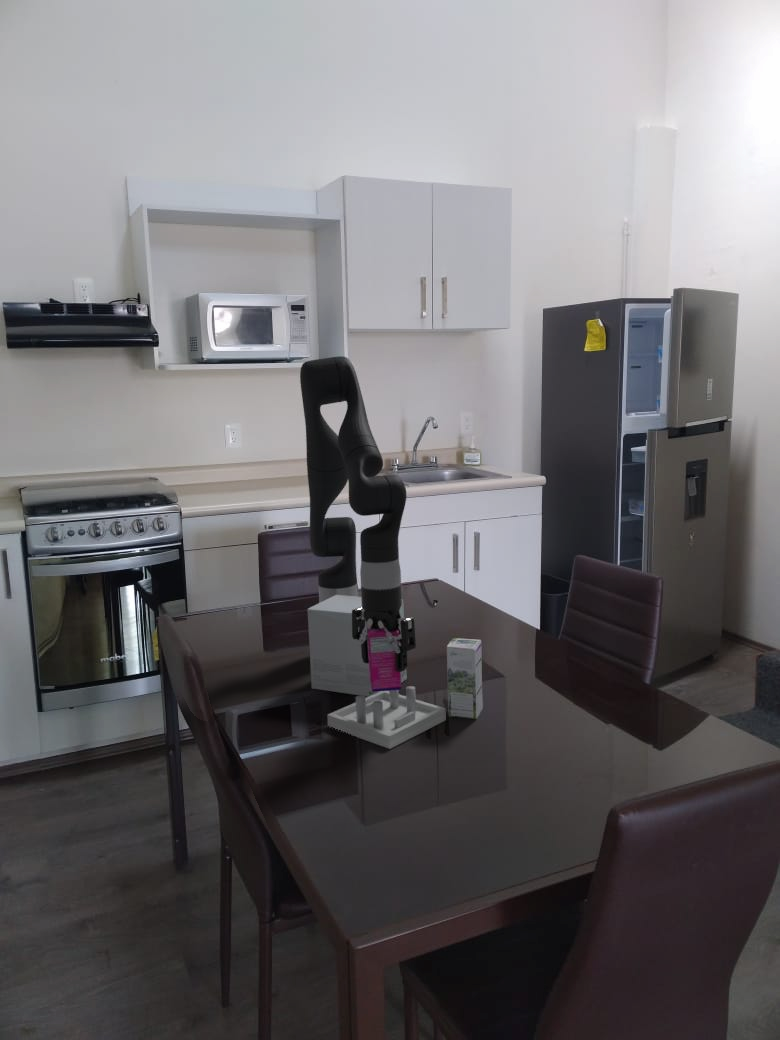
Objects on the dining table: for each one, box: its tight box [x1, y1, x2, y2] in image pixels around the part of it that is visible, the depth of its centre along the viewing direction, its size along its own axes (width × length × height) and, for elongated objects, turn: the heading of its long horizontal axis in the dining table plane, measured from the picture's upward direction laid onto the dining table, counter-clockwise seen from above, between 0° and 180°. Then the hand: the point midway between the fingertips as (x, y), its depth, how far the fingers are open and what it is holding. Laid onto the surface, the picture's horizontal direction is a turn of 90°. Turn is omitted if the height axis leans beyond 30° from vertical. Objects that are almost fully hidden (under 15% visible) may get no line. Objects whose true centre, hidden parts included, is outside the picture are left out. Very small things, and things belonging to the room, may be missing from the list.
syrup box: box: [446, 637, 484, 720], centre depth 162 cm, size 6×6×14 cm
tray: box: [326, 685, 447, 749], centre depth 159 cm, size 16×16×6 cm
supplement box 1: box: [306, 595, 408, 698], centre depth 180 cm, size 17×13×18 cm
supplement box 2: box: [367, 628, 403, 692], centre depth 158 cm, size 6×6×12 cm
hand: (384, 666), depth 158 cm, fingers closed on supplement box 2, 8 cm apart
